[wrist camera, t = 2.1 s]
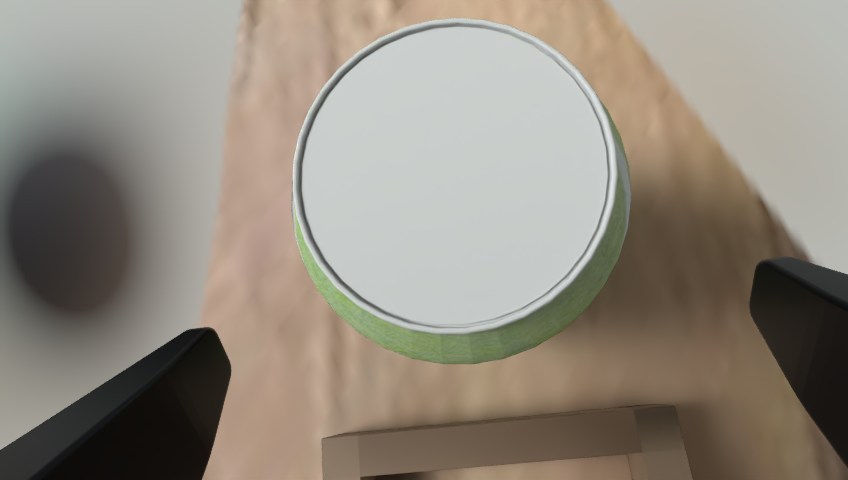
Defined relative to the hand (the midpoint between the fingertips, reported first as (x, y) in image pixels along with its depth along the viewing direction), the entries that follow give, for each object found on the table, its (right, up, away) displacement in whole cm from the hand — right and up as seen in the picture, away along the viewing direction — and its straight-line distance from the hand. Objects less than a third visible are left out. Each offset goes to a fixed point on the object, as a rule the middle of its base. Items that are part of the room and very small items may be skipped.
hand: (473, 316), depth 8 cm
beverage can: (+1, 0, +11) cm, 11 cm away
